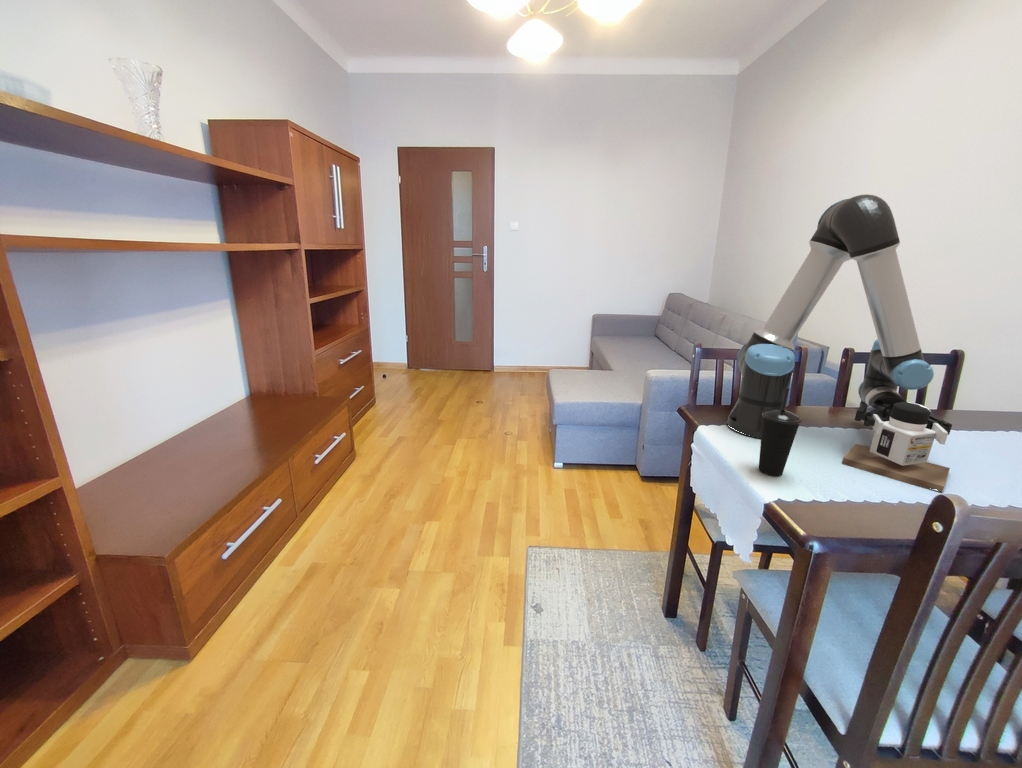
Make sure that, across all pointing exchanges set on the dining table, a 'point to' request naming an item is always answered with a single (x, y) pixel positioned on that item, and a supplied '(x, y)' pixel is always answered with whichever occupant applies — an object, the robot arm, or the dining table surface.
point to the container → (905, 435)
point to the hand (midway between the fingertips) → (911, 433)
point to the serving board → (897, 468)
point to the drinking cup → (777, 438)
